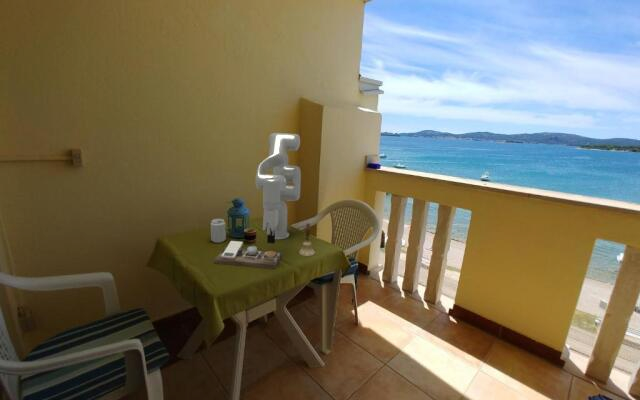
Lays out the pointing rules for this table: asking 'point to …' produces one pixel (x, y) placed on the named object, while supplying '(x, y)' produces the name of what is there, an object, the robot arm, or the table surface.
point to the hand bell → (307, 244)
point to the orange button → (270, 254)
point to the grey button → (251, 250)
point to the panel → (249, 259)
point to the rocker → (232, 250)
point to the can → (218, 230)
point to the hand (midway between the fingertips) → (271, 242)
